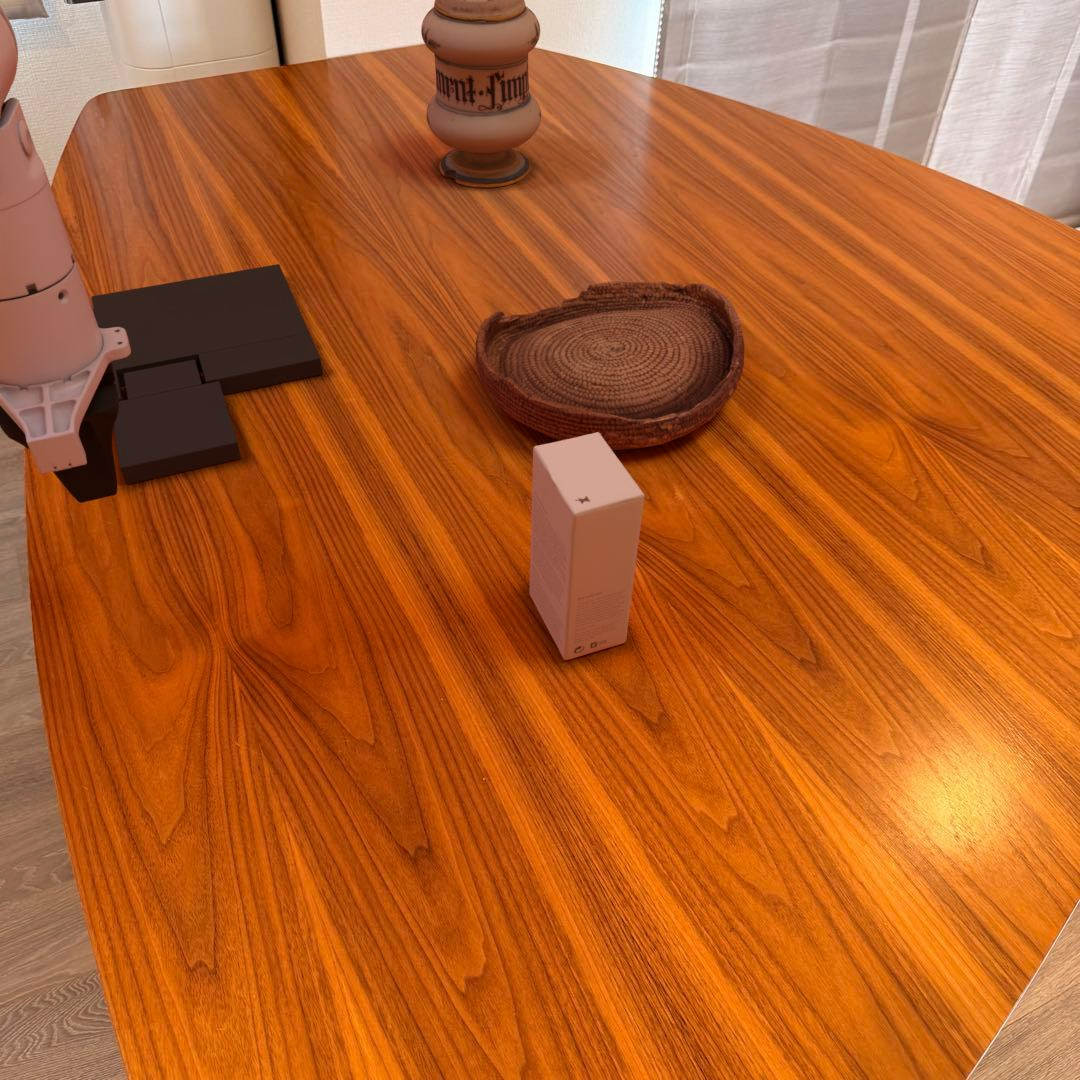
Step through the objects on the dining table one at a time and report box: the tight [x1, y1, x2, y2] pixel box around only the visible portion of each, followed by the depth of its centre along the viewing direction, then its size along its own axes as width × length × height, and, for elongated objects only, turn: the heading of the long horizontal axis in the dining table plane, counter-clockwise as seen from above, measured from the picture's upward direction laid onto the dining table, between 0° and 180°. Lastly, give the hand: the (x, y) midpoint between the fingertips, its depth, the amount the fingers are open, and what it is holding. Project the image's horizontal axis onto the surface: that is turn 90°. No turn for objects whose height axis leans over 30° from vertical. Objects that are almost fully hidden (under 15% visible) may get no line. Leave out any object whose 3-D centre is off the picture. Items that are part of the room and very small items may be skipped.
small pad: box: [113, 360, 242, 485], centre depth 72 cm, size 8×12×2 cm
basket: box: [475, 280, 745, 451], centre depth 77 cm, size 22×20×5 cm
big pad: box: [91, 263, 324, 401], centre depth 80 cm, size 16×16×2 cm
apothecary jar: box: [420, 0, 542, 189], centre depth 100 cm, size 12×12×18 cm
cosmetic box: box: [529, 432, 645, 661], centre depth 56 cm, size 6×4×12 cm
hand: (97, 491), depth 54 cm, fingers closed
